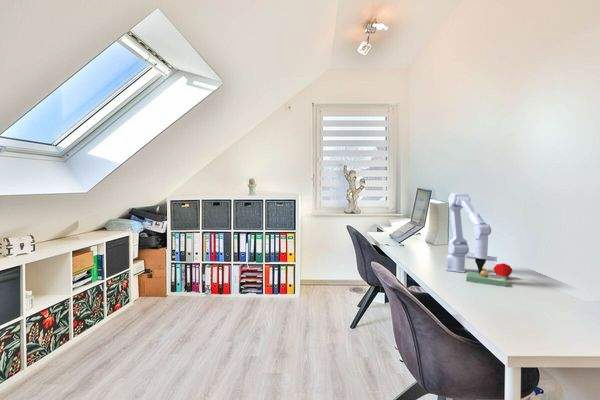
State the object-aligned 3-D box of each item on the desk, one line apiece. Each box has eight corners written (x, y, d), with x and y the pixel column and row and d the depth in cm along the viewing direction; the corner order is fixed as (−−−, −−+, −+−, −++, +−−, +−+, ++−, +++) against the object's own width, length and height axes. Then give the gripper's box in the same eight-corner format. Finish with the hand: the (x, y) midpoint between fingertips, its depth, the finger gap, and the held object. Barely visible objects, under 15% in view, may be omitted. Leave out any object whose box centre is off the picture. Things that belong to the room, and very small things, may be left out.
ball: (478, 269, 187) (486, 269, 185) (479, 267, 190) (487, 267, 188) (479, 277, 187) (488, 277, 184) (480, 275, 190) (489, 274, 188)
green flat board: (466, 281, 187) (466, 276, 186) (467, 276, 196) (468, 271, 196) (506, 286, 178) (506, 281, 178) (506, 281, 188) (506, 276, 187)
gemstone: (517, 280, 185) (516, 267, 193) (501, 271, 186) (500, 259, 194) (506, 290, 190) (505, 278, 198) (490, 282, 192) (490, 270, 199)
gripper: (465, 247, 187) (464, 273, 188) (497, 250, 180) (495, 277, 181) (466, 245, 193) (465, 270, 194) (497, 248, 186) (496, 274, 187)
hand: (480, 273), depth 188 cm, fingers closed, pressing on ball
